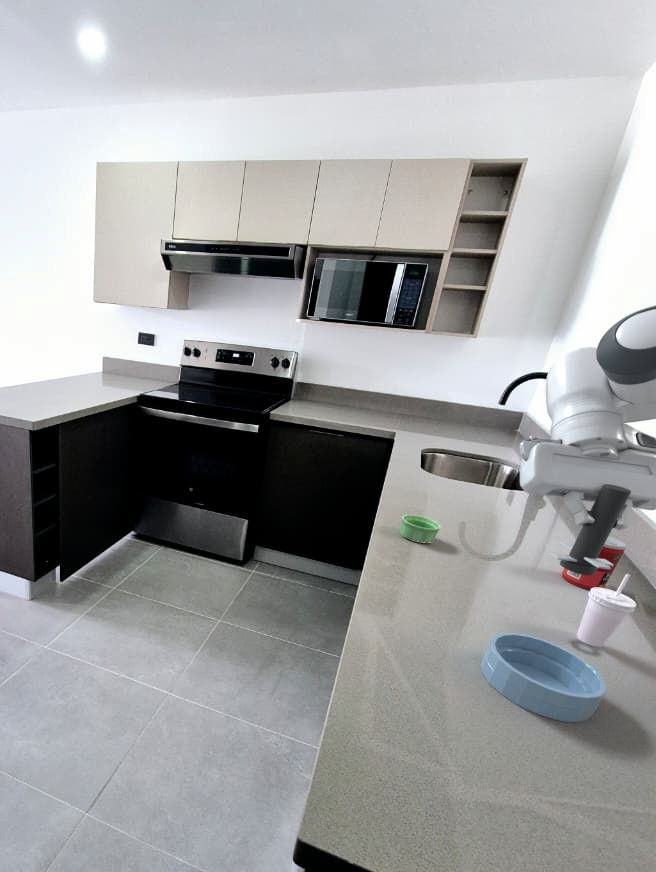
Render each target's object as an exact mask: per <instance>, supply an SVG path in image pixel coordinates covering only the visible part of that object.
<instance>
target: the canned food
mask: <svg viewBox="0 0 656 872" xmlns="http://www.w3.org/2000/svg"><path fill="white" fill-rule="evenodd" d="M626 547H627V544H626V543H625V542H623V541H622V540H620V539H618V538H615V537H614V536H610V535H609V536H608V538H607V540H606V542H605V544H604V546H603V548H602V550H601V552H600V554H599V556H598V558H599V559H606V560H607V561H609V562H610V563H612V564H614V566H609V567H611V569H602V568H598V569H597V571H596V573H595V575H593V576H587V575H581V574H578V573H575V572H572V571H569V570H567V569H565V568H564V567H563V570H562V571H561V577H562V579H564V580H565V581H566V582H567V583H569V584H571V585H573V586H576V587H578V588H581V589H584V590H588V591H590V590H591V589H592V588H594V587H599V588H605V587H606V585H607V583H608V582H609V580H610V578H611V576H612V574H613V572H614V571H615V569H616V567H617V565H618V563H619V562H620V560H621V558H622V556H623V554H624V552H625V550H626Z"/></svg>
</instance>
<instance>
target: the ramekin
mask: <svg viewBox="0 0 656 872" xmlns="http://www.w3.org/2000/svg"><path fill="white" fill-rule="evenodd" d="M441 528H442V527H441V524H439V523H438V522H437V521H436V520H433V519H431V518H428V517H427V516H426V517H425V516H422V515H418V514H404V515H402V517H401V524H400V529H399V534H400V536H401V535H402V536H401V537H403V536H404V537H406V538H408V539H411V540H415V541H419V542H425V543H429V542H432V543H433V542H434V541H435V539H436V537H437V534H438V533H439V531H440V530H441ZM404 537H403V538H404ZM406 538H405V539H406ZM408 539H407V540H408Z"/></svg>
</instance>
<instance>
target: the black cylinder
mask: <svg viewBox="0 0 656 872" xmlns="http://www.w3.org/2000/svg"><path fill="white" fill-rule="evenodd" d="M630 493H631V491H630V490H628V489H626V488H623V487H619V486H615V485H610V484H604V485H603V486H602V488H601V490H600V492H599V494H598V496H597V498H596V500H595V502H593V505H592V506H591V509H590V511H593V513H594V516H593V517H594V518H595V521H594V523H593V524H590V525H589V526H583V525H582V527H581V529H580V531H579V533H578V535H577V537H576V539H575V542H574V543H573V542H571V541H563V540H560V541H559V542H558V543H559V544H560V545H562V546H563V547H565V548H567V549H568V550H570V551H569V553H567V554H566V553H558V552H550V553H549V555H550V556H552V557H553V558H554V559H556V560H559V565H560V566H561V567H562V568H563V569H564V568H565V569H567V570H569V571H572V572H575V573H578V574H581V575H587V576H593V575H595V573H596V571H597V569H598V568H602V569H611V567H609V566H614V564H612V563H610V562H609V561H607V560H606V559H599V558H598V556H599V554H600V552H601V550H602V548H603V546H604V544H605V542H606V540H607V538H608V536H610V534H611V532H612V531H613V530H612V528H613V526H614V525H615V523H616V521H617V519H618V517H619V515H620V513H621V511H622V509H623V507H624V505H625V503H626V501H627V499H628V497H629V495H630Z"/></svg>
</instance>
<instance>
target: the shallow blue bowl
mask: <svg viewBox="0 0 656 872" xmlns="http://www.w3.org/2000/svg"><path fill="white" fill-rule="evenodd" d="M479 667H480V671H481V674H482V676H483V677H484V678H485V680H486V681H487V683H488V684H489V685H490V686H491V687H492V688H494V690H496V691H497V692H498V693H499V694H500V695H501V696H503V697H505V699H508V700H509V701H511V702H512V703H514V704H515V705H517V706H519V707H521V708H523V709H525V710H526V711H529V712H531V713H533V714H536V715H539V716H542V717H545V718H548V719H551V720H553V721H559V722H566V723H582V722H586V721H587V720H588V719H590V718H592V717H593V715H594V713H595V711H596V710H597V709H598V707H599V705H600V703H602V702H601V701H602V700H603V698H604V696H605V695H606V693H607V686H608V685H607V682H606V681H605V679H604V677H603V676H602V674H601V673H600V672H599V671H598V670H597V669H596V668H595V667H594V666H592V664H590V663H589V662H587V661H586V660H585V659H583V658H582V657H580V656H579V655H577V654H576V653H575V652H572V651H570V650H568V649H567V648H564V647H563V646H560V645H558V644H556V643H553V642H551V641H548V640H547V639H543V638H540V637H536V636H532V635H530V634H525V633H519V632H500V633H497V634H495V635H493V636H492V637H491V639H490V641H489V643H488V646H487V648H486V649H485V652H484V654H483V657H482V659H481V661H480V663H479Z"/></svg>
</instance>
